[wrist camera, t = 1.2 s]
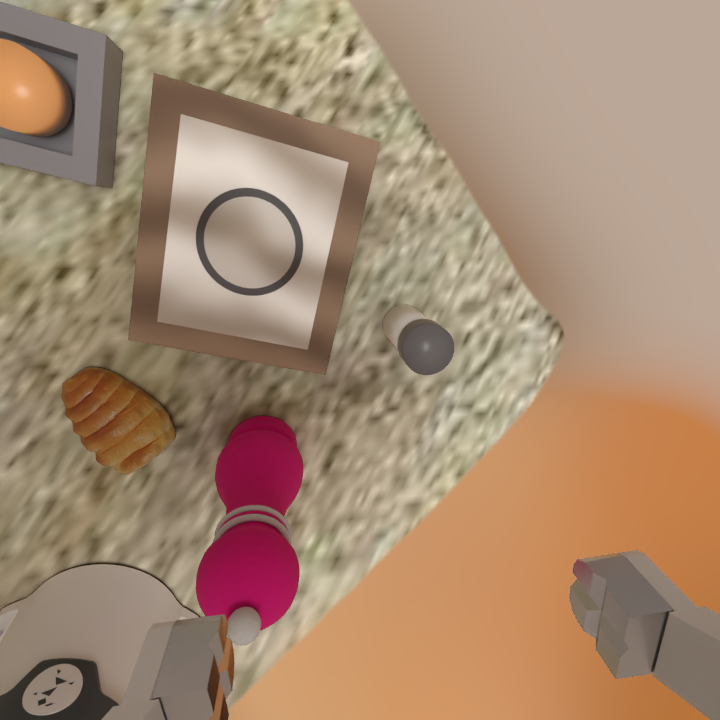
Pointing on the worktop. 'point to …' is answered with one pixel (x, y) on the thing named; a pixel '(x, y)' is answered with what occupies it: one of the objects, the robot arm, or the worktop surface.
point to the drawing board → (245, 228)
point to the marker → (418, 339)
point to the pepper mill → (253, 530)
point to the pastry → (116, 419)
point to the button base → (88, 93)
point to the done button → (31, 93)
